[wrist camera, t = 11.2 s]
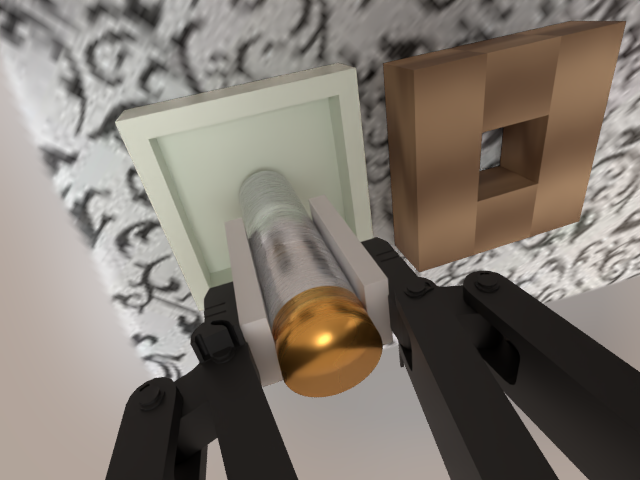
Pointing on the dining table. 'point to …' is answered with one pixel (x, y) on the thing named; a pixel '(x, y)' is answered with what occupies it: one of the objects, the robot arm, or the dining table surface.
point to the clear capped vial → (305, 293)
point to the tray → (247, 159)
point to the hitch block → (517, 145)
